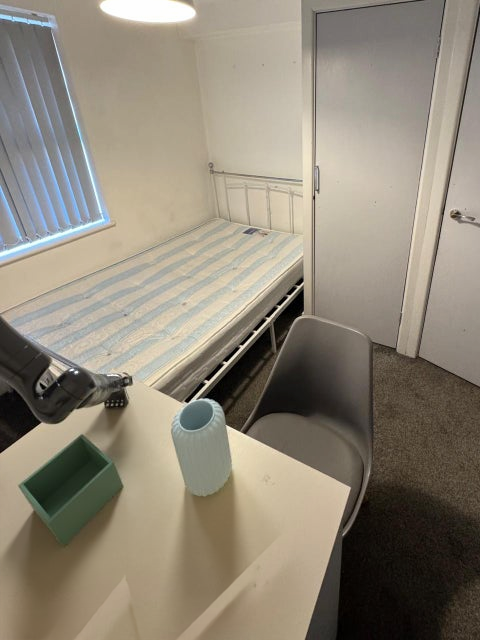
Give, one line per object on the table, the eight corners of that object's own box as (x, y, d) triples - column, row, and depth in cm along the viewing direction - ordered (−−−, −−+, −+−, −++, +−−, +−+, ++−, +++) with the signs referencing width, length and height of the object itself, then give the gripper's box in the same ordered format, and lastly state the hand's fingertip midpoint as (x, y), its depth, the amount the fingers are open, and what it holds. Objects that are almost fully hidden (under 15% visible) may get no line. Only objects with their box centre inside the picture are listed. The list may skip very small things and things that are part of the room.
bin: (33, 509, 73) (17, 485, 69) (92, 457, 84) (82, 433, 80) (63, 547, 67) (48, 523, 63) (123, 486, 77) (113, 462, 73)
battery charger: (101, 411, 96) (90, 384, 91) (107, 400, 99) (97, 373, 94) (125, 410, 96) (115, 383, 91) (130, 399, 99) (121, 372, 95)
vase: (178, 472, 80) (161, 412, 71) (219, 442, 87) (209, 384, 77) (197, 514, 72) (180, 452, 63) (241, 478, 79) (232, 417, 69)
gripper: (121, 365, 82) (134, 366, 97) (56, 383, 78) (80, 381, 92) (125, 396, 80) (137, 393, 95) (58, 416, 75) (81, 409, 90)
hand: (109, 387), depth 93 cm, fingers open, 8 cm apart
